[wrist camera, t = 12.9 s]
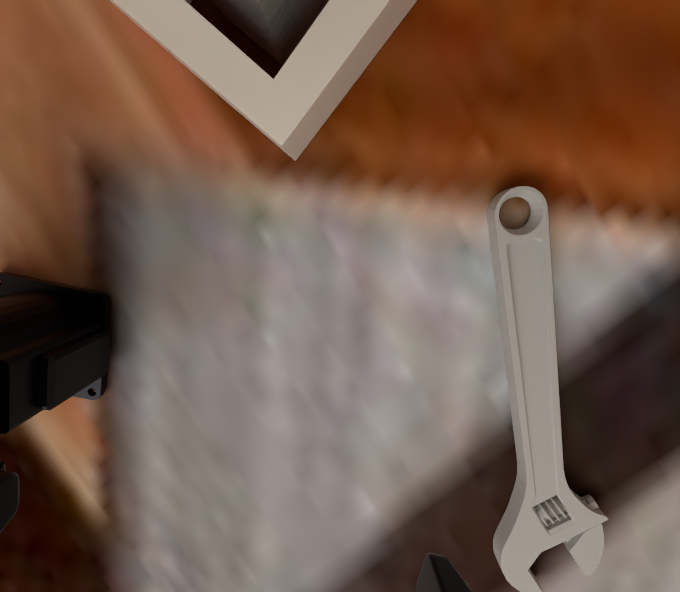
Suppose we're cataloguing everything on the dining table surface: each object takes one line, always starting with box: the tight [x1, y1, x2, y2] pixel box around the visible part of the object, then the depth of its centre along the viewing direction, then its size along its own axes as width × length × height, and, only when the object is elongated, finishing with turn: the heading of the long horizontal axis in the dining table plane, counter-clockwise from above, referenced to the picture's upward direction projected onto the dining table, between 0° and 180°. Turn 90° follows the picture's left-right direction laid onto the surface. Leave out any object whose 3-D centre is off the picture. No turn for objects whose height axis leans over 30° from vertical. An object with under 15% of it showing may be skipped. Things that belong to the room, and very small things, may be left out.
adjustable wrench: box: [487, 186, 609, 592], centre depth 21 cm, size 25×6×2 cm, turn 7°
